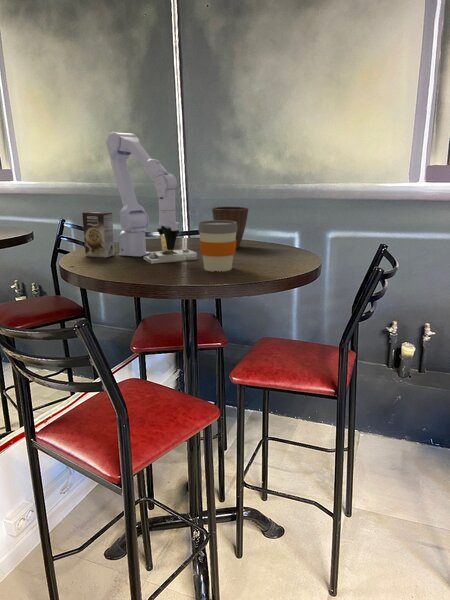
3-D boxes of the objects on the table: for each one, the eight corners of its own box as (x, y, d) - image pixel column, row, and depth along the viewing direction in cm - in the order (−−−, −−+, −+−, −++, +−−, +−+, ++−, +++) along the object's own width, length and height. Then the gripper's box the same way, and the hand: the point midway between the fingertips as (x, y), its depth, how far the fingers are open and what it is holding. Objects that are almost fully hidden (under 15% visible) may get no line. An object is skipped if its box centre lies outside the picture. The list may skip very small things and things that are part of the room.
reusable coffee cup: (200, 264, 159) (199, 220, 155) (237, 264, 159) (237, 220, 155) (197, 272, 147) (196, 224, 143) (237, 272, 147) (237, 224, 143)
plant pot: (213, 244, 202) (212, 206, 197) (247, 244, 201) (248, 206, 197) (210, 250, 187) (210, 209, 183) (248, 250, 187) (248, 209, 182)
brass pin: (160, 257, 166) (158, 235, 164) (165, 255, 170) (163, 233, 168) (170, 257, 165) (168, 235, 163) (175, 255, 169) (173, 233, 166)
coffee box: (84, 256, 175) (81, 212, 170) (95, 253, 180) (91, 210, 176) (105, 257, 172) (102, 213, 167) (115, 254, 177) (112, 211, 173)
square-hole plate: (151, 263, 161) (150, 254, 160) (143, 259, 169) (143, 250, 168) (196, 259, 168) (196, 250, 167) (187, 255, 176) (187, 246, 175)
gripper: (185, 211, 159) (186, 251, 162) (171, 208, 171) (172, 245, 175) (165, 212, 156) (167, 252, 159) (152, 208, 168) (154, 246, 172)
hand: (168, 248), depth 167 cm, fingers closed on brass pin, 4 cm apart
